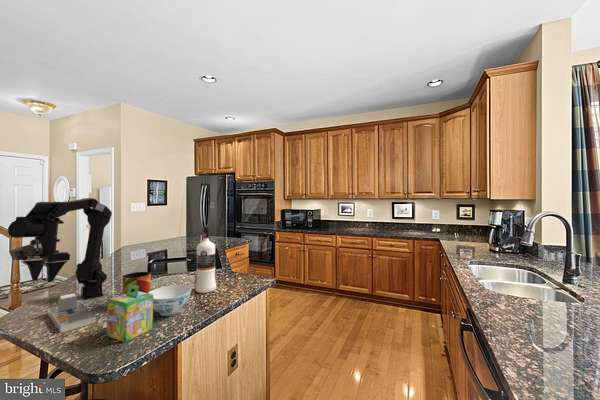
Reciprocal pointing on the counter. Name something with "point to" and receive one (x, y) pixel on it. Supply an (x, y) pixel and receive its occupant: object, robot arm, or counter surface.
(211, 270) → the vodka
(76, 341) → the counter surface
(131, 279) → the mug
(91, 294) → the robot arm
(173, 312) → the chinaware
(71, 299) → the fader tab
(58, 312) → the console
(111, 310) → the chalk box
